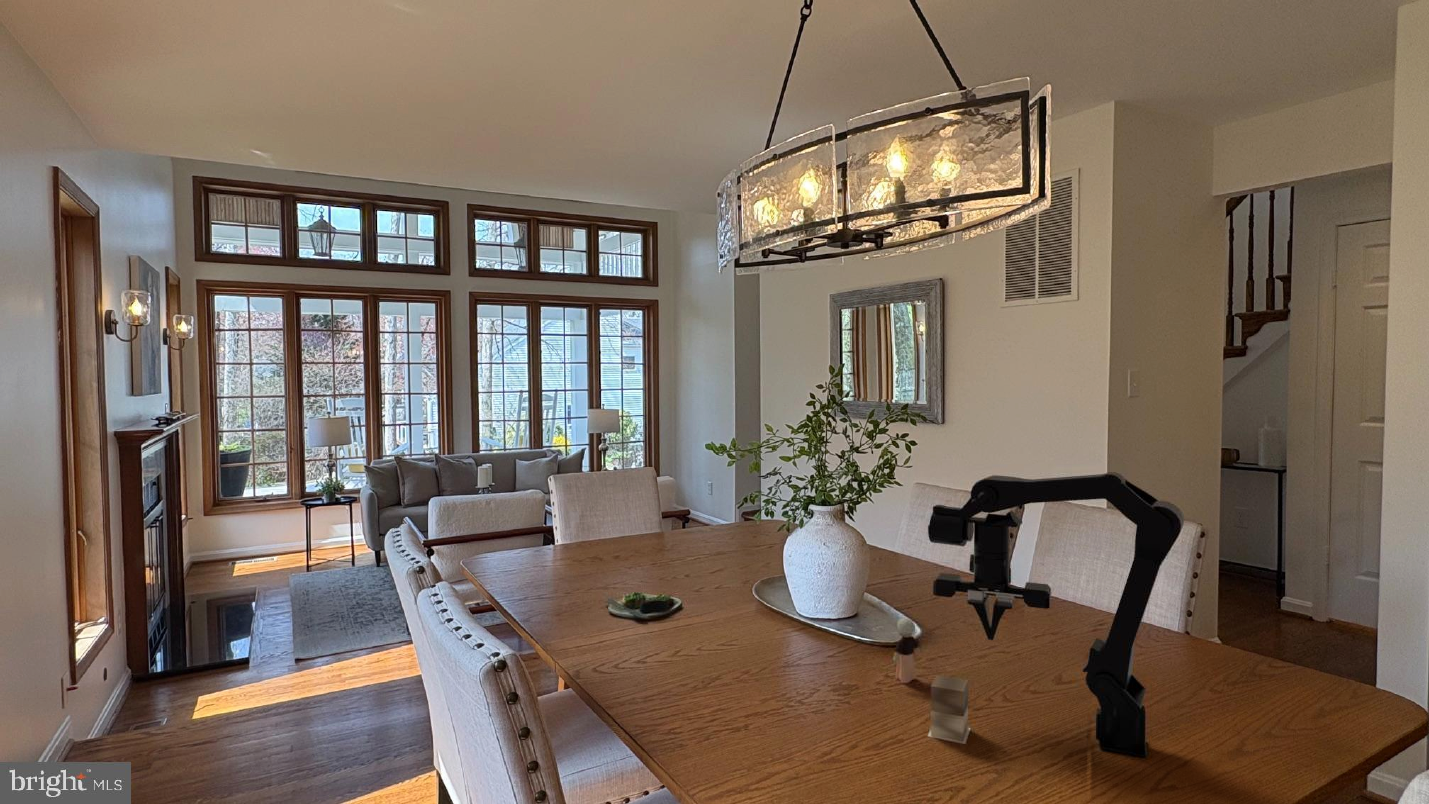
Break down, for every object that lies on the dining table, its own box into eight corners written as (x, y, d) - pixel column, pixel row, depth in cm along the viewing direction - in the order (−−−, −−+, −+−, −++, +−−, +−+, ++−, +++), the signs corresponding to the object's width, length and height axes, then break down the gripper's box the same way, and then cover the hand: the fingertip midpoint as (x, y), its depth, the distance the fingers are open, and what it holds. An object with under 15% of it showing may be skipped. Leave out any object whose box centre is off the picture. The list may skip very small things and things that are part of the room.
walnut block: (968, 704, 125) (968, 680, 125) (963, 716, 120) (963, 691, 120) (936, 698, 127) (936, 675, 127) (931, 710, 123) (931, 686, 123)
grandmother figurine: (904, 676, 149) (905, 611, 149) (923, 681, 147) (923, 615, 146) (886, 688, 143) (886, 622, 143) (905, 694, 141) (905, 626, 140)
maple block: (967, 728, 125) (967, 704, 125) (963, 741, 121) (963, 716, 120) (936, 722, 127) (936, 698, 127) (930, 735, 123) (930, 710, 123)
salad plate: (586, 615, 190) (586, 597, 189) (626, 596, 205) (626, 579, 205) (653, 626, 181) (653, 607, 181) (689, 606, 197) (689, 588, 197)
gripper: (1053, 545, 134) (1052, 632, 135) (943, 535, 143) (943, 618, 143) (1049, 559, 124) (1048, 653, 125) (932, 548, 133) (932, 637, 133)
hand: (990, 639), depth 132 cm, fingers closed
